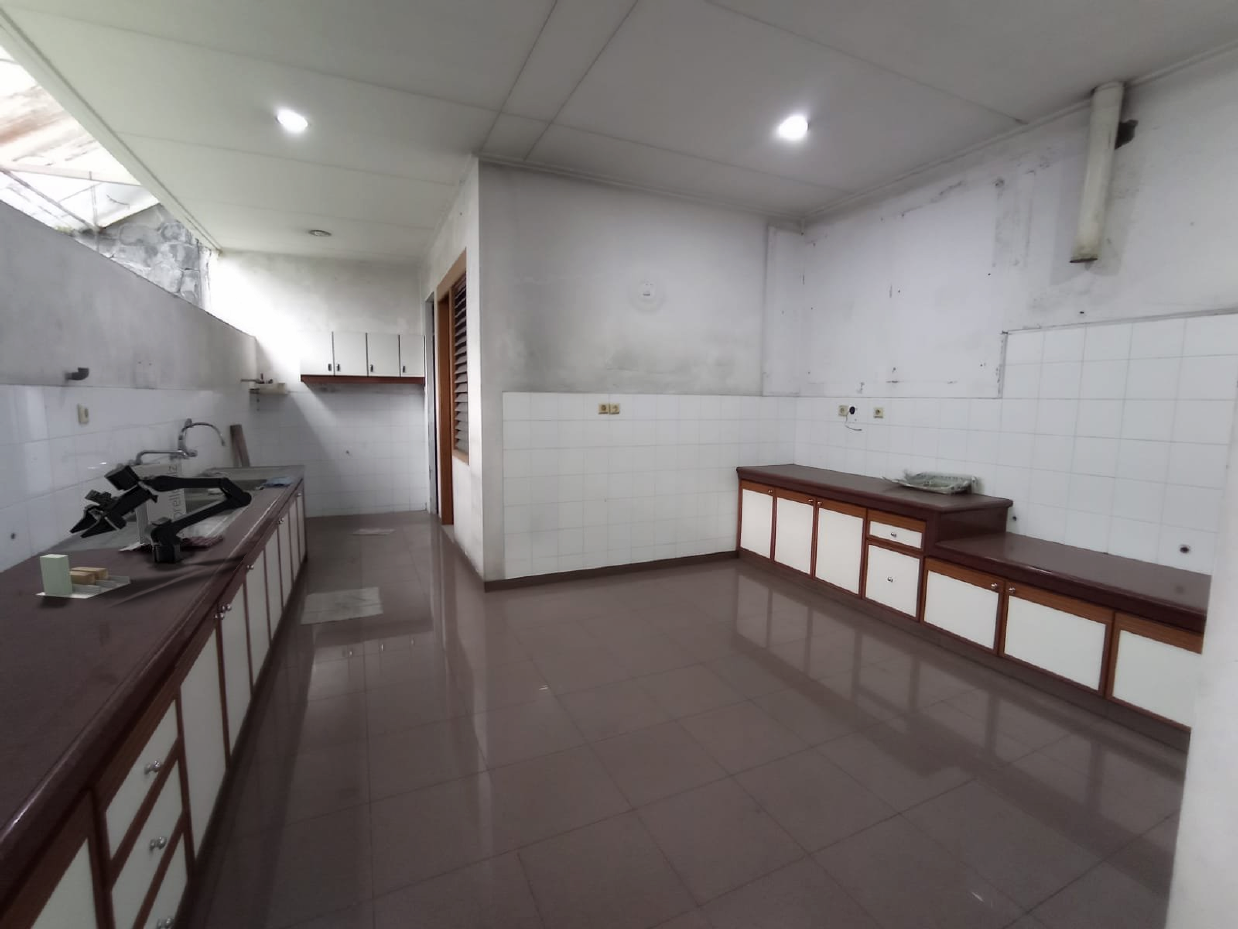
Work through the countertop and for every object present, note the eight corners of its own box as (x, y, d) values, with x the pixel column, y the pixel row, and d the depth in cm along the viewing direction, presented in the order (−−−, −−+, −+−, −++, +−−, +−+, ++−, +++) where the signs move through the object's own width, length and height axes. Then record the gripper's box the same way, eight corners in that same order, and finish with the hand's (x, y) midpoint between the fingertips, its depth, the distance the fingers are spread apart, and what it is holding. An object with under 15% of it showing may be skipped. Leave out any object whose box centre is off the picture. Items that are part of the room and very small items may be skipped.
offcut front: (80, 581, 168) (78, 566, 167) (109, 583, 166) (107, 568, 165) (71, 583, 165) (69, 569, 164) (100, 586, 164) (98, 571, 163)
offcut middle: (66, 585, 164) (64, 570, 163) (95, 587, 162) (93, 572, 162) (57, 588, 161) (55, 573, 161) (86, 590, 160) (84, 575, 159)
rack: (85, 582, 169) (83, 573, 169) (131, 585, 167) (130, 576, 166) (36, 598, 157) (34, 587, 156) (85, 601, 154) (84, 591, 154)
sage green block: (55, 591, 159) (49, 554, 158) (72, 592, 158) (67, 555, 157) (44, 594, 157) (39, 556, 155) (62, 595, 156) (57, 558, 154)
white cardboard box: (151, 548, 204) (142, 467, 200) (139, 547, 205) (130, 467, 201) (188, 538, 218) (181, 462, 214) (177, 537, 219) (169, 462, 215)
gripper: (98, 479, 180) (44, 511, 169) (121, 485, 170) (64, 519, 160) (124, 505, 186) (73, 537, 176) (147, 512, 176) (95, 547, 166)
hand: (75, 534), depth 169 cm, fingers open, 9 cm apart
